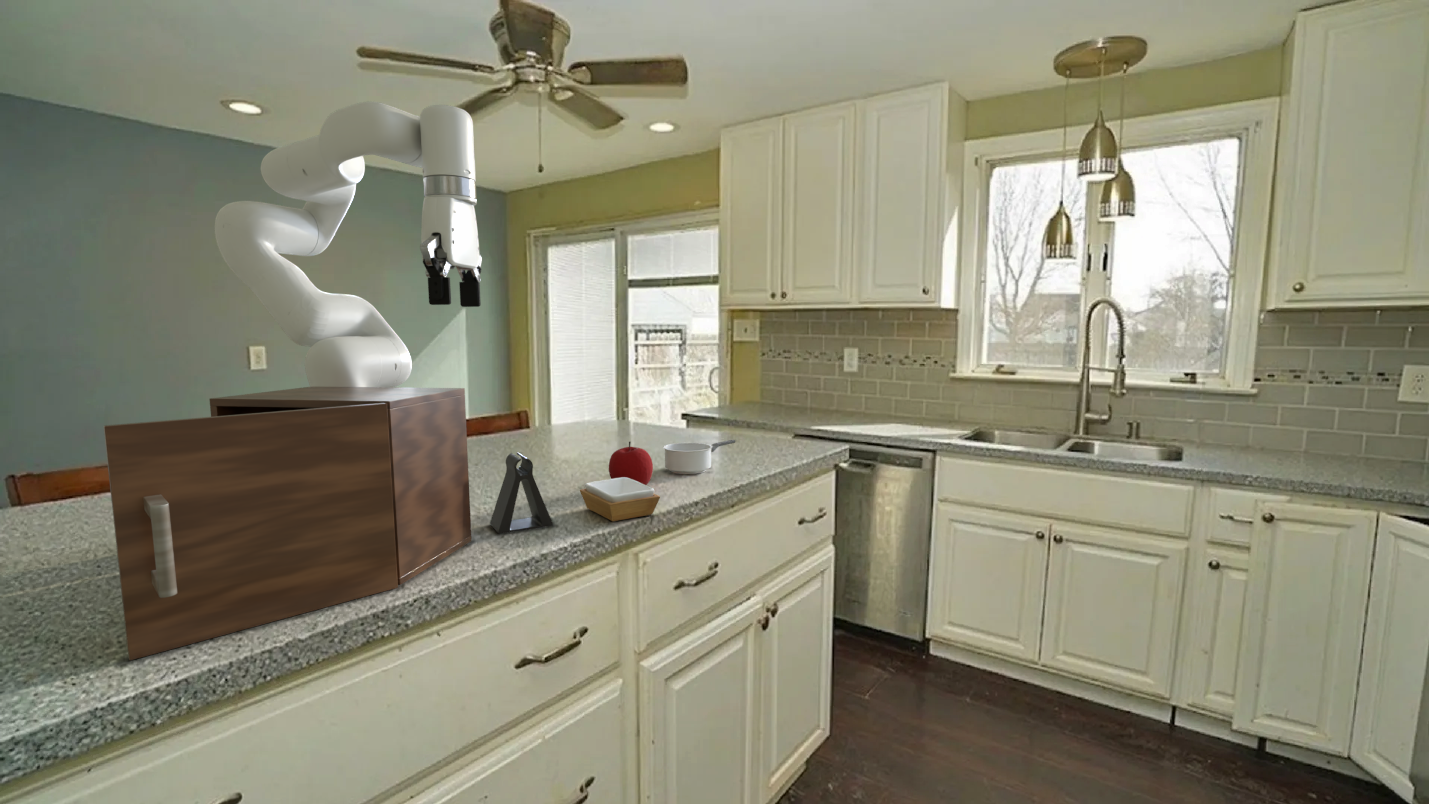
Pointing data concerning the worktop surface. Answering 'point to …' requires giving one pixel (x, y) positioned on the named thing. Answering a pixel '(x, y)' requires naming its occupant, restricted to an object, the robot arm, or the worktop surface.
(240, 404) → the cupboard
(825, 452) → the worktop surface
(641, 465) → the apple
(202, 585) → the cupboard door
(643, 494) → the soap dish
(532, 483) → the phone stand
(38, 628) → the worktop surface
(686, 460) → the saucepan
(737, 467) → the worktop surface
